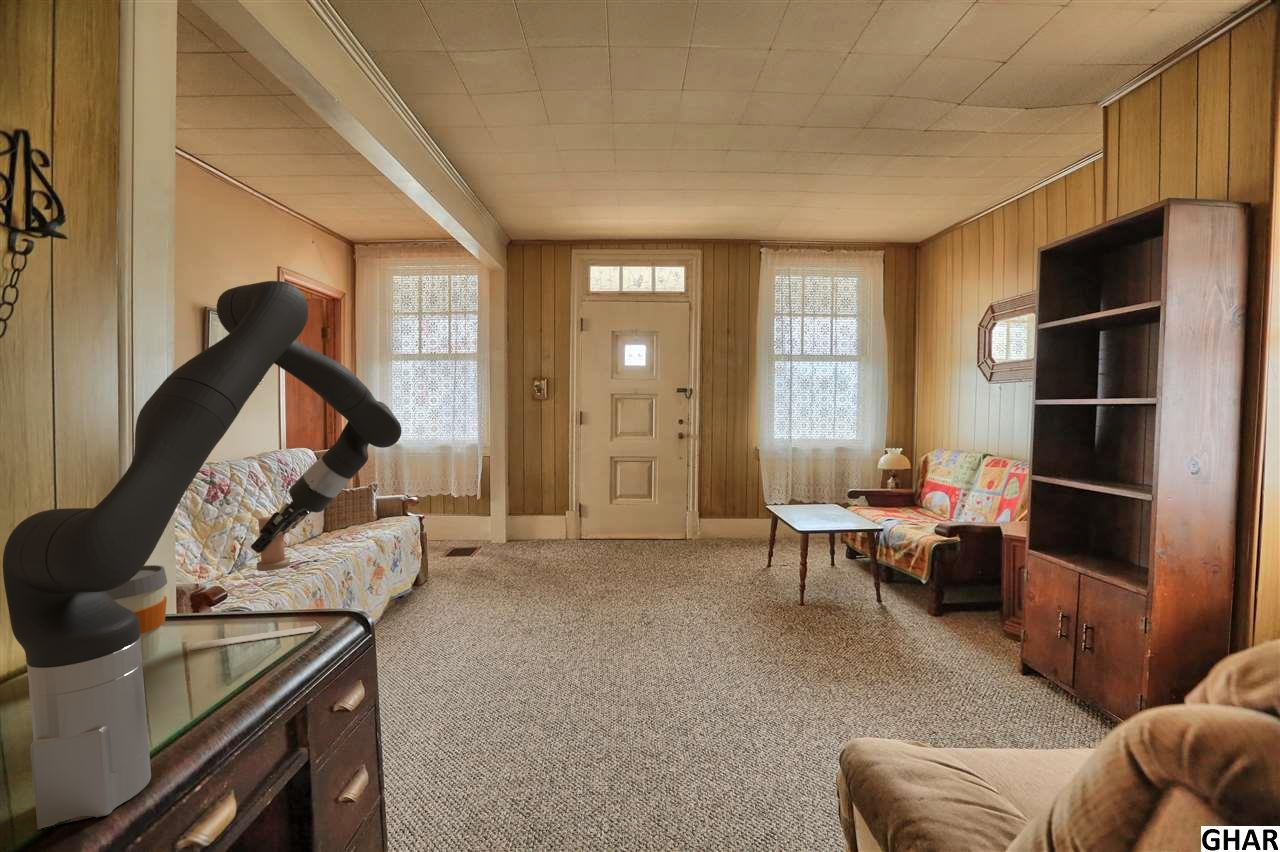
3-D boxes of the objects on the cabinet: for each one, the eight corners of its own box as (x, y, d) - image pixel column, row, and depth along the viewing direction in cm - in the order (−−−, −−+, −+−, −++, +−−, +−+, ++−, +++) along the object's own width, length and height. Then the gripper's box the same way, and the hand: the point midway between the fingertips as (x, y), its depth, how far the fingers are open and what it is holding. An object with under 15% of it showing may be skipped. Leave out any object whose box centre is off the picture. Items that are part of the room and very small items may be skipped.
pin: (285, 568, 113) (282, 519, 112) (253, 572, 111) (249, 522, 110) (293, 561, 118) (289, 513, 117) (262, 564, 116) (258, 516, 116)
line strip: (313, 632, 110) (312, 631, 110) (190, 650, 104) (190, 648, 104) (316, 627, 113) (316, 625, 113) (197, 644, 107) (196, 642, 107)
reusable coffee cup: (159, 663, 99) (153, 578, 99) (64, 680, 94) (56, 591, 93) (181, 636, 111) (175, 561, 110) (96, 651, 105) (90, 571, 105)
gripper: (321, 467, 121) (264, 527, 120) (289, 476, 107) (224, 543, 106) (349, 490, 122) (293, 549, 121) (321, 502, 108) (257, 569, 107)
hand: (261, 546), depth 114 cm, fingers closed on pin, 4 cm apart
